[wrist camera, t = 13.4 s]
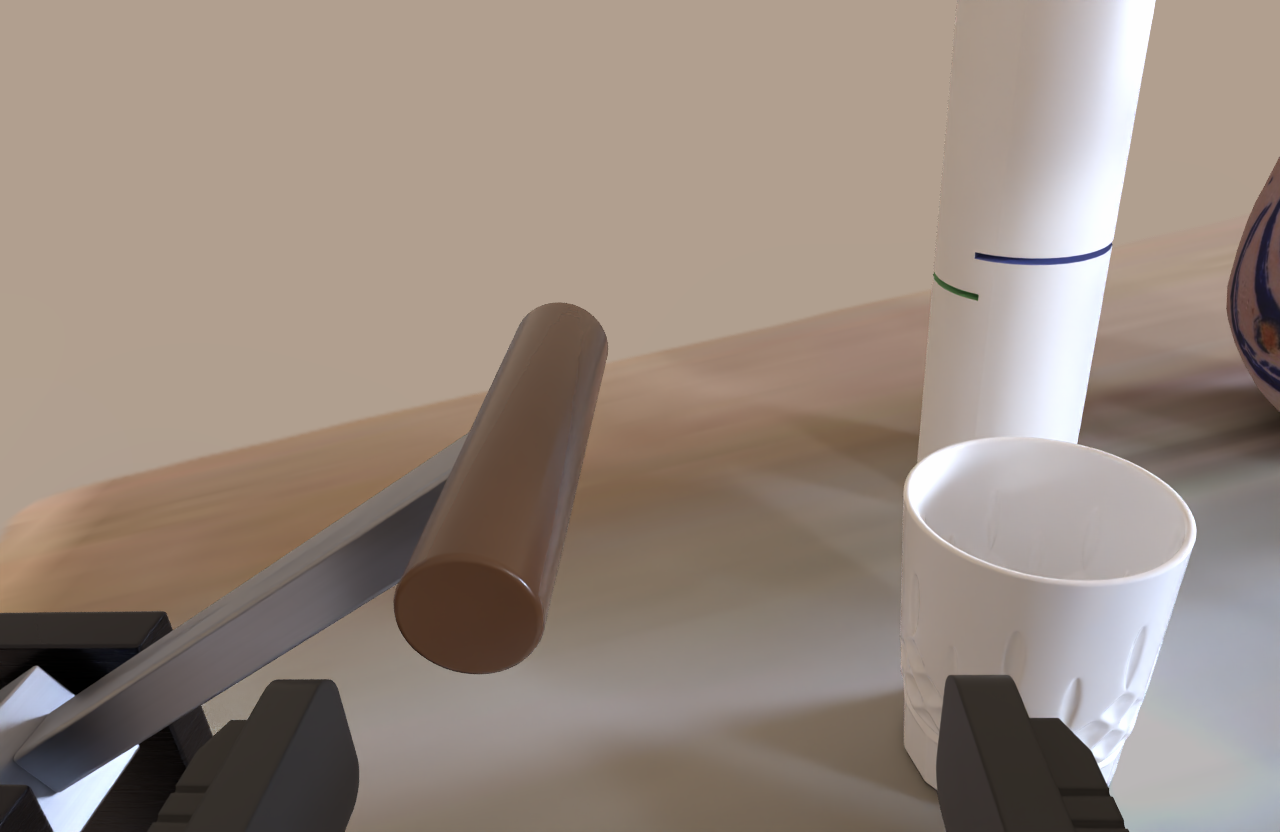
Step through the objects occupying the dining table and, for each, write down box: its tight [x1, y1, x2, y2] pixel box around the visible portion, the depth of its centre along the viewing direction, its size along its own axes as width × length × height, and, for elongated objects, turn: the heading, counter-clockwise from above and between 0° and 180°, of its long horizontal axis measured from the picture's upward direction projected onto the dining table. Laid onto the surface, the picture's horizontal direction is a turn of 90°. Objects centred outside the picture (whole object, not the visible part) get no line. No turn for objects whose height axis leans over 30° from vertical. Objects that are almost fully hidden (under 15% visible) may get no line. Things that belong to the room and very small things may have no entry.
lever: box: [0, 303, 608, 832], centre depth 15 cm, size 14×7×2 cm
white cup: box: [900, 437, 1196, 790], centre depth 30 cm, size 8×8×10 cm
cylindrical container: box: [917, 0, 1155, 463], centre depth 41 cm, size 7×7×25 cm
